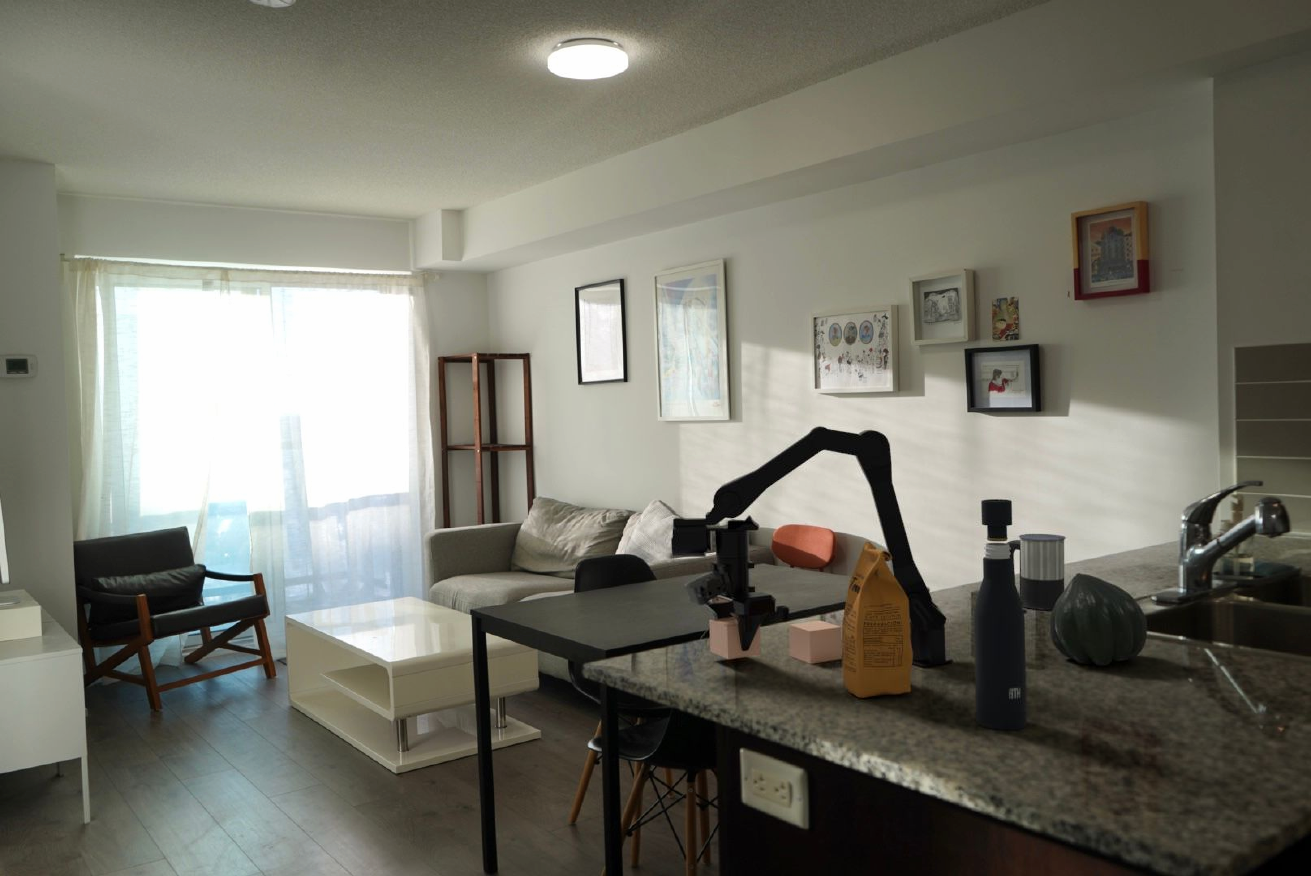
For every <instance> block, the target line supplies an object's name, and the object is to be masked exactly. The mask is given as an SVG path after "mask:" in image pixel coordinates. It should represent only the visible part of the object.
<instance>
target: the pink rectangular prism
mask: <svg viewBox="0 0 1311 876" xmlns="http://www.w3.org/2000/svg"><path fill="white" fill-rule="evenodd" d="M788 634H789V635H788V637H789V657H792V658H794V659H797V660H799V661H803V662H805V663H807V664H811V665H813V664H816V663H823V662H829V661H830V662H831V661H836V660H842V626H839V625H837V624H833V623H829V622H827V621H823V620H820V619H819V620H813V621H812V620H811V621H806V622H805V621H804V622H797V623H791V624H788Z"/></svg>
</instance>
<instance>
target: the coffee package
mask: <svg viewBox="0 0 1311 876" xmlns="http://www.w3.org/2000/svg"><path fill="white" fill-rule="evenodd" d="M891 559H892V556H891V554H890V553H889V552H888V551H887V550H884V549H877V547H876V546H875V545H874V544H873V543H872V542H871V541H865V542H864V544H863V547H862V549H861V553H860V555H859V558H858V559H857V562H856V565H855V568H854V570H853V572H852V575H851V577H850V581H849V584H848V588H847V591H846V592H847V593H846V599H845V607H844V611H843V617H842V626H841V647H842V659H841V665H842V667H841V668H842V680H843V683H844V684H845V687H846V689H847V691H848V692H849V693H850V694H853V695H854V696H856V697H857V698H863V699H865V698H869V697H878V696H883V695H900V694H904V693H910V692H912V691H911V690H912V687H911V680H912V679H911V678H912V677H911V674H912V673H911V672H912V667H913V663H912V660H913V652H912V647H911V640H910V618H909V600H908V598H907V596H906V594H905V592H904V590H903V589H902V587H901V586H900V584H899V583H898V581H897V580H896V578H895V577H894V575H893V574H892V573H891V568H889V566H888V563H887V562H890V560H891Z"/></svg>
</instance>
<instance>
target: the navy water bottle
mask: <svg viewBox="0 0 1311 876" xmlns="http://www.w3.org/2000/svg"><path fill="white" fill-rule="evenodd" d="M980 501H981V502H980V503H981V505H980V506H981V507H980V508H981V509H980V510H981V525H982V526H986V532H987V533H986V534H987V537H986V540H987V541H989V542H987V543H985V546H984V550H985V552H984V554H985V556H984V557H983V558H982V569H983V570H982V571H983V572H982V573H983V574H982V575H983V576H982V581H981V585H980V587H979V590H978V593H977V597H976V601H975V606H974V613H973V614H974V615H973V625H974V626H973V627H974V629H973V630H974V664H975V665H974V668H975V669H974V670H975V671H974V673H975V711H976V712H975V713H976V715H975V716H976V719H975V720H976V723H977V724H978V725H979V726H982V727H984V728H986V727H987V729H990V728H991V730H996V729H997V731H1016V730H1021V729H1023V728H1025V727H1026V726H1027V725H1028V717H1027V716H1028V715H1027V714H1028V713H1027V709H1028V707H1027V674H1026V673H1027V672H1026V670H1027V669H1026V667H1027V665H1026V629H1025V628H1026V624H1025V623H1026V622H1025V615H1024V614H1025V613H1024V607H1023V608H1022V603H1021V599H1020V592H1018V589H1017V586H1016V582H1015V583H1014V580H1013V559H1012V558H1011V557H1010V554H1011V553H1010V552H1009V550H1010V549H1011V548H1010V547H1009V544H1008V543H1007V542H1008V527H1009V526H1012V525H1013V501H1012V500H1011V499H1004V498H1002V499H999V498H994V499H993V498H991V499H988V498H987V499H983V500H980ZM1006 541H1007V542H1006Z"/></svg>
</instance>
